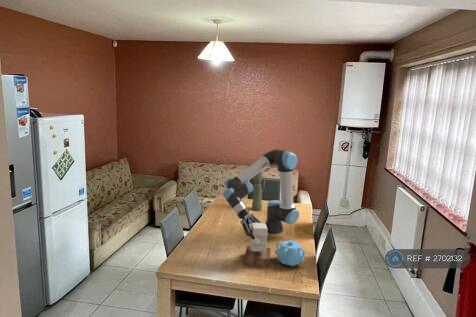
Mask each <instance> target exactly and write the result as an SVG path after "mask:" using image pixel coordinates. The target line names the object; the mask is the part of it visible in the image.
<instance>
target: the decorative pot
mask: <svg viewBox="0 0 476 317" xmlns="http://www.w3.org/2000/svg"><path fill="white" fill-rule="evenodd" d="M279 244H280V246H279ZM275 246H276V250H275V254H276V258H277V261H278V262H279V263H281V264H284V265H286V266H289V267H295V266H297V265H298V264H300V263H304V262H305V260H306V259H305V258H304V256H305V255H306V250H305V249H304V248H303V247H301V245H300V244H299V242H298V241H297V240H285V241H278V242H277V243H276V245H275Z"/></svg>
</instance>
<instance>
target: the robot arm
mask: <svg viewBox="0 0 476 317" xmlns="http://www.w3.org/2000/svg"><path fill="white" fill-rule="evenodd" d="M297 165H298V158H297V155H296V154H295V153H294V152H292V151H288V150H282V149H277V148H276V149H271V150H268V151H267V152H266V153H263V154H262V155H261V156H260V157H259V159H258V160H257V161H255V162H254V163H253V164H251V165H250V166H248V167H247V168H245V169H244V170H243V171H241V172H240V173H239V174H237V175H235V176H234V177H232V178H227V179H225V180H224V184H223V186H224V188H225V189H226V190H225V191H224V192H223V194H222V196H223V197H224V199H225V201H226V202H227V203H228V205H229V206H230V207H231V208H232V210H233V211H234V213H235V214H236V216H237V217H238V218H239V220H240V221H239V222H240V224H241V226H242V228H243V230H244V233H245V235H246V236H247V237H250V239H251V238H252V239H253V241H254V242H255V243H256V245H257V244H258V243H259V242H260V241H259V240H258V238H257V237H256V236H255V234H254V233H253V234H252V230H251V223H263V222H262V221H260V219H258V218H257V217H256V216H255V215H254V213H250V210H249V208H248V207H246V205H245V203H244V202H243V200H242V199H243V198H245V197H246V196H249V195H250V194H251V193H253V186H252V182H250V180H252V178H253V177H254V176H255V175H257V174H258V173H259V172H262V171H263V170H265V169H268V168H270V167H272V166H277V168H276V170H277V172H279V183H280V185H279V186H280V200H279V199H277V200H276V199H274V200H269V201H268V202H267V206H266V209H267V210H266V220H265V222H264V223H265V224H266V226H267V228H268V231H267V236H268V235H269V234H268V233H270V234H281V233H283V232H284V225H283V223H284V224H285V223H286V224H287V225H294V224H295V223H296V222H297V221H298V220H299V217H300V212H299V210H298V209H297V208H296V207H297V206H296V204H295V202H294V192H293V191H294V189H293V188H294V186H293V172H294V171H295V168H296V167H297Z"/></svg>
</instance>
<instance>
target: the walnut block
mask: <svg viewBox="0 0 476 317" xmlns="http://www.w3.org/2000/svg"><path fill="white" fill-rule="evenodd" d="M243 258H244V259H243V266H247V267H248V266H249V267H257V268H266V269H268V268H270V260H271V247H266V251H252V250H251V246H250V245H246V249H245V252H244V257H243Z"/></svg>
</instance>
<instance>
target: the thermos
mask: <svg viewBox="0 0 476 317" xmlns="http://www.w3.org/2000/svg"><path fill="white" fill-rule="evenodd" d="M251 184H252V186H253V191H252V193H253V194H252V203H251V210H252V211H253V210H254V211H253V212H261V211H262V207H263V201H262V198H263V196H262V195H263V190H265V184H266V180H265V178H264V174H263V172H262V171H261V172H259V173H258V174H257V175H255V176H254V177H253V178H251Z"/></svg>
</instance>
